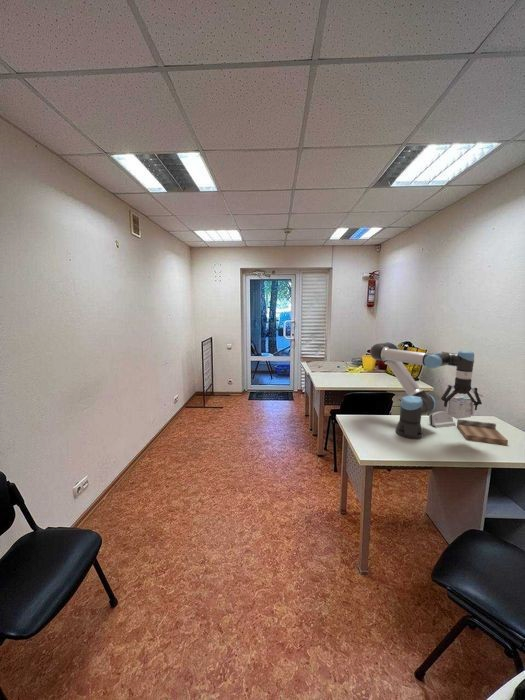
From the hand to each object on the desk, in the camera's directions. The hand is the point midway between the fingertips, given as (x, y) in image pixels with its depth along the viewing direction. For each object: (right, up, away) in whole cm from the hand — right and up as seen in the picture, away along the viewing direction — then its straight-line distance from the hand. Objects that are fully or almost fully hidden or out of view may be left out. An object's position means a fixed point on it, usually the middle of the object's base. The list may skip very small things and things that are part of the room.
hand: (459, 413), depth 159 cm
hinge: (+7, -14, +27) cm, 31 cm away
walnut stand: (+20, -16, +10) cm, 27 cm away
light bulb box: (0, -2, 0) cm, 2 cm away
